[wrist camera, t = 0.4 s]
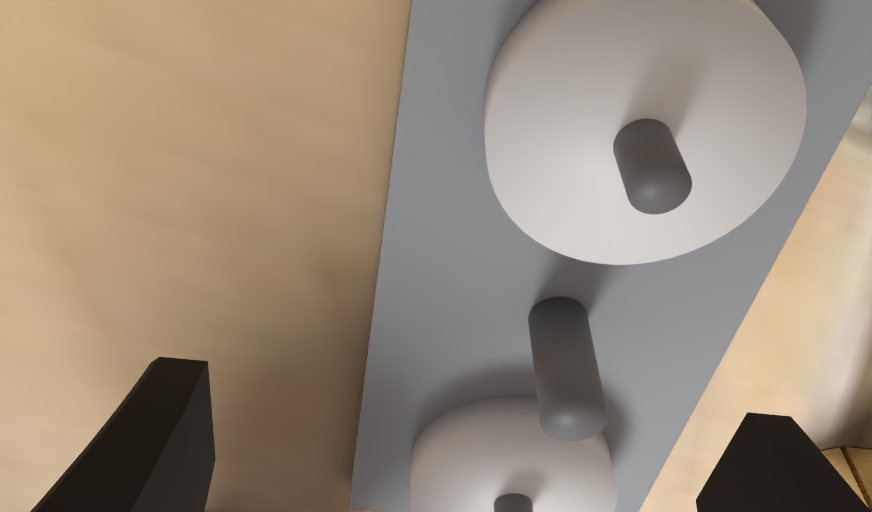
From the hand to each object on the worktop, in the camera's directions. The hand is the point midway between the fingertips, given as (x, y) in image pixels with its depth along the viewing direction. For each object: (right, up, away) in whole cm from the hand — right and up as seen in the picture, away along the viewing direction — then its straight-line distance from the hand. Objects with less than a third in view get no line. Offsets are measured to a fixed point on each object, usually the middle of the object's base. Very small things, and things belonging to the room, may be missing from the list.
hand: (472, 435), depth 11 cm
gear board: (+3, +1, +11) cm, 12 cm away
